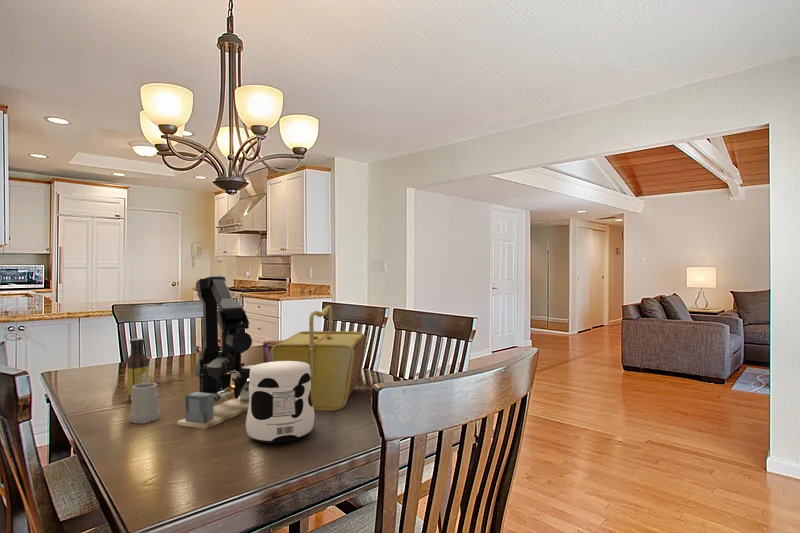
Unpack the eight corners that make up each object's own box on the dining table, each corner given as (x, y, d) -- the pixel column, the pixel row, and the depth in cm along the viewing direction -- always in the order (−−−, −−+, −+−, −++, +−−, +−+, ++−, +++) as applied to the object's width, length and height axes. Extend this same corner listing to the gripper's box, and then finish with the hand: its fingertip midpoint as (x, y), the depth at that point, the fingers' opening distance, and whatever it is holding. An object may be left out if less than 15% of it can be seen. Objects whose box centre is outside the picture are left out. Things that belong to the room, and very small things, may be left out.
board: (251, 394, 163) (251, 391, 163) (276, 396, 160) (276, 393, 160) (177, 424, 132) (177, 421, 132) (206, 429, 129) (206, 425, 129)
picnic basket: (353, 413, 142) (353, 312, 142) (268, 412, 144) (268, 312, 143) (367, 388, 171) (366, 304, 171) (296, 387, 173) (295, 304, 173)
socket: (196, 416, 136) (196, 391, 136) (213, 418, 134) (213, 393, 134) (185, 421, 133) (185, 395, 132) (203, 423, 131) (202, 397, 130)
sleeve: (257, 392, 161) (257, 373, 161) (267, 393, 160) (267, 374, 160) (240, 399, 153) (239, 379, 153) (250, 401, 152) (250, 380, 152)
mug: (129, 425, 132) (129, 382, 132) (129, 414, 142) (129, 373, 142) (160, 421, 136) (160, 379, 135) (158, 410, 146) (158, 371, 146)
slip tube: (255, 385, 160) (255, 375, 160) (263, 386, 159) (263, 376, 159) (208, 403, 139) (208, 392, 139) (218, 404, 138) (218, 393, 138)
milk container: (280, 421, 135) (279, 357, 135) (328, 431, 127) (327, 364, 126) (230, 440, 120) (230, 369, 120) (281, 454, 112) (280, 377, 112)
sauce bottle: (152, 396, 161) (152, 337, 161) (143, 401, 155) (143, 340, 155) (133, 396, 161) (133, 337, 161) (123, 401, 155) (123, 340, 155)
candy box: (289, 379, 184) (289, 339, 184) (286, 382, 180) (286, 341, 180) (266, 379, 185) (266, 339, 184) (263, 382, 180) (262, 341, 180)
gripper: (187, 350, 142) (187, 402, 142) (239, 353, 135) (240, 408, 135) (213, 343, 152) (213, 392, 152) (263, 347, 146) (263, 398, 146)
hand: (231, 398), depth 146 cm, fingers closed on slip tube, 3 cm apart
